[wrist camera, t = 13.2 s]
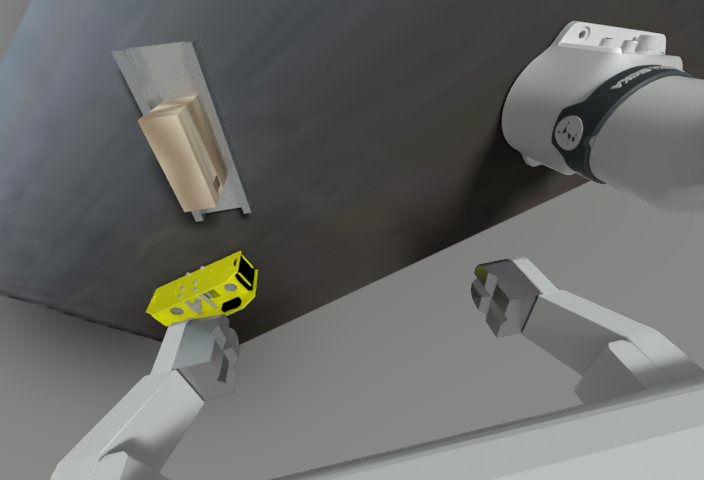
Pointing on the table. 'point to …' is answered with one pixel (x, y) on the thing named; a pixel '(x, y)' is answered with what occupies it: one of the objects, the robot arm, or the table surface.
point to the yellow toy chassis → (206, 291)
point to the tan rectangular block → (186, 152)
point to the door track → (179, 82)
